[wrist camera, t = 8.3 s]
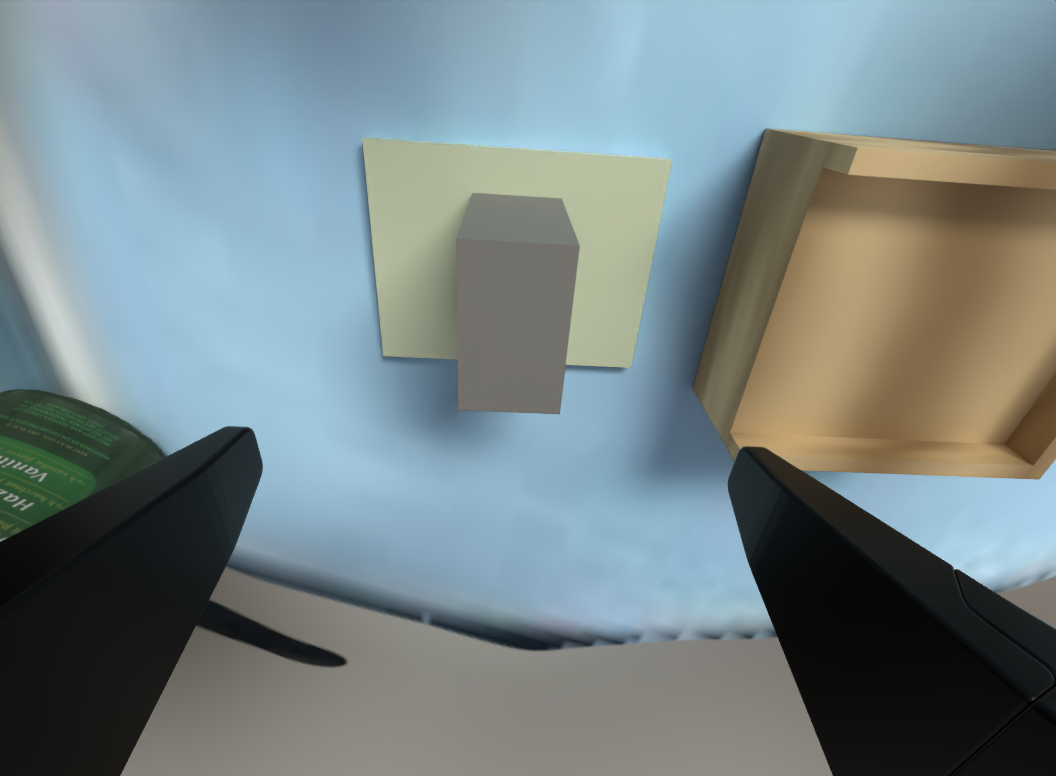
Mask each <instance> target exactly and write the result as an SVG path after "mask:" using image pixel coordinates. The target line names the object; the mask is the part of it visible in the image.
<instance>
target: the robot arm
mask: <svg viewBox="0 0 1056 776" xmlns="http://www.w3.org/2000/svg"><path fill="white" fill-rule="evenodd" d="M262 470H263V463H262V459H261V455H260V451H259V448H258V444H257V440H256V436H255V434H254V431H253V430H252V429H251V428H249V427H237V426H227V427H224V428H222V429H220V430H218V431H216V432H214V433H212V434H210V435H208V436H206V437H204V438H202V439H200V440H198V441H196V442H194V443H192V444H190V445H189V446H187V447H185V448H183V449H181V450H179V451H177V452H175V453H173V454H171V455H169V456H167V457H165V458H163V459H161V460H159V461H157V462H155V463H153V464H151V465H149V466H147V467H145V468H143V469H142V470H140V471H138V472H136V473H134V474H132V475H130V476H128V477H126V478H124V479H122V480H120V481H118V482H116V483H114V484H112V485H110V486H108V487H106V488H104V489H102V490H100V491H98V492H97V493H95V494H93V495H91V496H89V497H87V498H85V499H83V500H81V501H79V502H77V503H75V504H73V505H71V506H69V507H67V508H65V509H63V510H61V511H59V512H57V513H55V514H53V515H51V516H50V517H48V518H46V519H44V520H42V521H40V522H38V523H36V524H34V525H32V526H30V527H28V528H26V529H24V530H22V531H20V532H18V533H16V534H14V535H12V536H10V537H8V538H6V539H5V540H3V541H1V542H0V776H120V775H121V773H122V771H123V769H124V767H125V765H126V763H127V761H128V759H129V757H130V755H131V753H132V751H133V749H134V747H135V745H136V743H137V741H138V739H139V737H140V735H141V733H142V731H143V729H144V728H145V725H146V723H147V722H148V720H149V718H150V716H151V714H152V712H153V710H154V708H155V706H156V704H157V702H158V700H159V698H160V695H161V694H162V692H163V690H164V688H165V686H166V684H167V682H168V680H169V678H170V676H171V674H172V672H173V670H174V668H175V666H176V664H177V662H178V660H179V658H180V656H181V654H182V652H183V650H184V648H185V646H186V644H187V642H188V640H189V638H190V636H191V634H192V632H193V630H194V628H195V626H196V624H197V622H198V620H199V618H200V616H201V615H202V613H203V611H204V609H205V607H206V605H207V603H208V601H209V599H210V597H211V595H212V593H213V591H214V589H215V587H216V585H217V583H218V581H219V579H220V577H221V575H222V573H223V571H224V569H225V567H226V565H227V563H228V561H229V559H230V557H231V555H232V552H233V550H234V548H235V545H236V543H237V541H238V538H239V535H240V533H241V530H242V527H243V525H244V522H245V519H246V516H247V514H248V511H249V508H250V505H251V503H252V500H253V497H254V495H255V492H256V489H257V486H258V484H259V481H260V478H261V475H262ZM728 492H729V495H730V499H731V503H732V506H733V510H734V514H735V517H736V521H737V525H738V528H739V532H740V535H741V539H742V543H743V546H744V550H745V553H746V557H747V560H748V563H749V566H750V568H751V571H752V574H753V576H754V579H755V581H756V584H757V586H758V589H759V591H760V594H761V596H762V599H763V601H764V604H765V606H766V609H767V611H768V614H769V616H770V619H771V621H772V624H773V627H774V629H775V632H776V634H777V637H778V639H779V642H780V644H781V647H782V649H783V651H784V654H785V657H786V659H787V661H788V664H789V667H790V669H791V672H792V674H793V677H794V679H795V682H796V684H797V687H798V689H799V692H800V694H801V697H802V699H803V702H804V704H805V707H806V709H807V712H808V714H809V716H810V719H811V722H812V724H813V727H814V729H815V732H816V734H817V737H818V739H819V742H820V744H821V747H822V749H823V751H824V754H825V757H826V760H827V762H828V764H829V767H830V770H831V772H832V774H833V776H1056V629H1055V628H1053V627H1052V626H1050V625H1048V624H1047V623H1045V622H1043V621H1041V620H1039V619H1038V618H1036V617H1034V616H1033V615H1031V614H1029V613H1028V612H1026V611H1024V610H1023V609H1021V608H1019V607H1018V606H1016V605H1014V604H1013V603H1011V602H1010V601H1008V600H1006V599H1005V598H1003V597H1001V596H1000V595H998V594H997V593H995V592H993V591H992V590H990V589H988V588H987V587H985V586H983V585H982V584H980V583H979V582H977V581H976V580H974V579H972V578H971V577H969V576H968V575H966V574H965V573H963V572H962V571H960V570H958V569H955V570H954V568H953V566H952V565H950V564H949V563H947V562H945V561H944V560H942V559H941V558H939V557H938V556H936V555H934V554H933V553H931V552H930V551H928V550H926V549H925V548H923V547H922V546H920V545H919V544H917V543H915V542H914V541H912V540H911V539H909V538H908V537H906V536H904V535H903V534H901V533H900V532H898V531H896V530H895V529H893V528H892V527H890V526H889V525H887V524H885V523H884V522H882V521H881V520H879V519H877V518H876V517H874V516H873V515H871V514H870V513H868V512H866V511H865V510H863V509H862V508H860V507H858V506H857V505H855V504H854V503H852V502H851V501H849V500H847V499H846V498H844V497H843V496H841V495H839V494H838V493H836V492H835V491H833V490H832V489H830V488H828V487H827V486H825V485H824V484H822V483H821V482H819V481H817V480H816V479H814V478H813V477H811V476H809V475H808V474H806V473H805V472H803V471H802V470H800V469H798V468H797V467H795V466H794V465H792V464H790V463H789V462H787V461H786V460H784V459H783V458H781V457H779V456H778V455H776V454H775V453H773V452H772V451H770V450H768V449H767V448H764V447H754V446H744V447H742V448H741V449H740V450H739V452H738V454H737V457H736V459H735V462H734V465H733V468H732V470H731V473H730V476H729V479H728Z"/></svg>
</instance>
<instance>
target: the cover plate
mask: <svg viewBox="0 0 1056 776" xmlns="http://www.w3.org/2000/svg"><path fill="white" fill-rule="evenodd" d="M362 141H363V151H364V162H365V172H366V182H367V193H368V203H369V213H370V224H371V234H372V245H373V255H374V265H375V276H376V286H377V296H378V307H379V317H380V328H381V338H382V348H383V356H391V357H412V358H434V359H455V360H457V380H458V410H470V411H494V412H518V413H542V414H560V407H561V399H562V391H563V382H564V374H565V366H566V365H583V366H604V367H625V368H631V365H632V360H633V355H634V350H635V345H636V340H637V335H638V330H639V325H640V320H641V315H642V310H643V305H644V300H645V295H646V290H647V285H648V280H649V275H650V269H651V264H652V259H653V254H654V249H655V244H656V239H657V234H658V229H659V224H660V219H661V214H662V209H663V204H664V199H665V194H666V189H667V184H668V179H669V174H670V169H671V164H672V160H670V159H668V158H653V157H639V156H625V155H611V154H596V153H582V152H568V151H553V150H539V149H525V148H510V147H496V146H482V145H468V144H453V143H439V142H425V141H410V140H396V139H382V138H367V137H366V138H364V139H362Z"/></svg>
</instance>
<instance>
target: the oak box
mask: <svg viewBox="0 0 1056 776" xmlns="http://www.w3.org/2000/svg"><path fill="white" fill-rule="evenodd" d="M692 388H693V390H694V392H695V394H696V395H697V397H698V399H699V401H700V402H701V404H702V406H703V408H704V409H705V411H706V413H707V415H708V416H709V418H710V420H711V422H712V424H713V425H714V427H715V429H716V431H717V432H718V434H719V436H720V438H721V439H722V441H723V443H724V445H725V446H726V448H727V450H728V452H729V453H730V455H731V457H732V459H733V460H734V462H735V459H736V457H737V454H738V452H739V450H740V449H741V448H742V447H744V446H754V447H764V448H767V449H768V450H770V451H772V452H773V453H775V454H776V455H778V456H779V457H781V458H783V459H784V460H786V461H787V462H789V463H790V464H792V465H794V466H795V467H797V468H798V469H800V470H807V471H833V472H859V473H885V474H911V475H937V476H963V477H989V478H1015V479H1040V478H1041V477H1042V475H1043V474H1044V473H1045V472H1046V470H1047V469H1048V468H1049V467H1050V465H1051V464H1052V463H1053V462H1054V460H1055V459H1056V151H1052V150H1039V149H1026V148H1013V147H1000V146H987V145H974V144H961V143H948V142H935V141H922V140H909V139H896V138H883V137H870V136H857V135H844V134H831V133H818V132H805V131H792V130H779V129H765V132H764V136H763V140H762V143H761V147H760V150H759V154H758V157H757V161H756V164H755V168H754V171H753V175H752V178H751V182H750V186H749V189H748V193H747V196H746V200H745V203H744V207H743V210H742V214H741V217H740V221H739V225H738V228H737V232H736V235H735V239H734V242H733V246H732V249H731V253H730V256H729V260H728V263H727V267H726V271H725V274H724V278H723V281H722V285H721V288H720V292H719V295H718V299H717V302H716V306H715V309H714V313H713V317H712V320H711V324H710V327H709V331H708V334H707V338H706V341H705V345H704V348H703V352H702V355H701V359H700V363H699V366H698V370H697V373H696V377H695V380H694V384H693V387H692Z"/></svg>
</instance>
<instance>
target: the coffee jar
mask: <svg viewBox="0 0 1056 776" xmlns="http://www.w3.org/2000/svg"><path fill="white" fill-rule="evenodd" d="M165 457H166V456H165V455H164V454H163V453H162V452H161V450H160V449H159V448H158V447H157V446H156V445H155V444H154V443H153V442H152V441H151V440H150V439H149V438H147V437H146V436H144V435H143V434H141V433H140V432H139V431H137V430H136V429H135V428H133V427H132V426H131V425H130V424H129V423H127V422H125V421H123V420H121V419H120V418H118V417H116V416H115V415H113V414H111V413H109V412H107V411H105V410H103V409H101V408H98V407H95V406H92V405H90V404H87V403H85V402H82V401H79V400H77V399H74V398H69V397H65V396H60V395H57V394H53V393H49V392H45V391H39V390H21V389H17V390H9V391H4V392H2V393H0V542H1V541H3V540H5V539H6V538H8V537H10V536H12V535H14V534H16V533H18V532H20V531H22V530H24V529H26V528H28V527H30V526H32V525H34V524H36V523H38V522H40V521H42V520H44V519H46V518H48V517H50V516H51V515H53V514H55V513H57V512H59V511H61V510H63V509H65V508H67V507H69V506H71V505H73V504H75V503H77V502H79V501H81V500H83V499H85V498H87V497H89V496H91V495H93V494H95V493H97V492H98V491H100V490H102V489H104V488H106V487H108V486H110V485H112V484H114V483H116V482H118V481H120V480H122V479H124V478H126V477H128V476H130V475H132V474H134V473H136V472H138V471H140V470H142V469H143V468H145V467H147V466H149V465H151V464H153V463H155V462H157V461H159V460H161V459H163V458H165Z"/></svg>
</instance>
